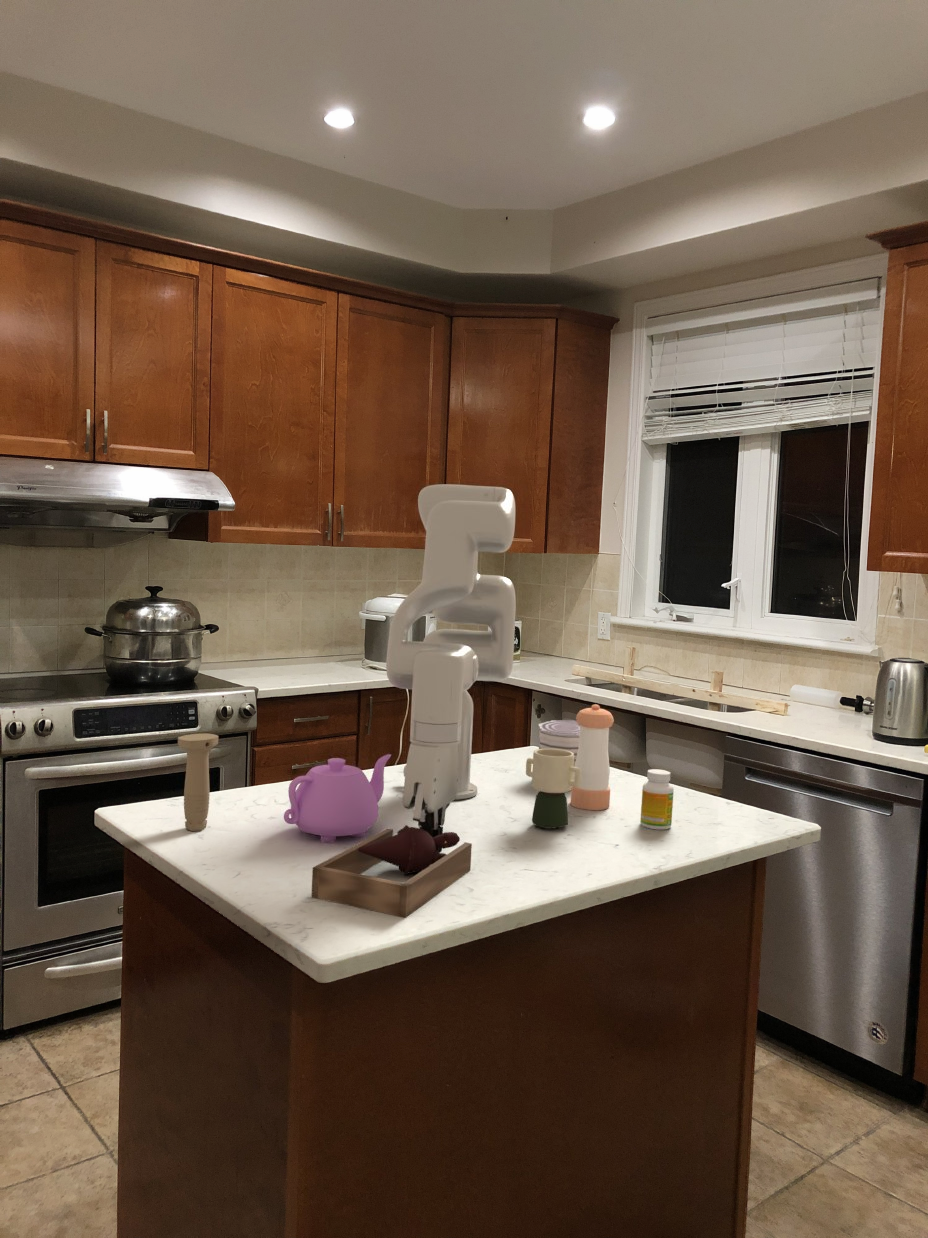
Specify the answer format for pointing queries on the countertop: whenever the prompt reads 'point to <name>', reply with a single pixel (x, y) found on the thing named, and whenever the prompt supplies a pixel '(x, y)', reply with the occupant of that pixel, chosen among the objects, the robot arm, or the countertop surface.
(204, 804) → the handle
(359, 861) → the frame
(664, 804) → the supplement bottle
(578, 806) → the salt shaker
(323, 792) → the teapot
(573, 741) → the can
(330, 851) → the countertop surface
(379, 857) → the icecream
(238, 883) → the countertop surface
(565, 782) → the character mug
